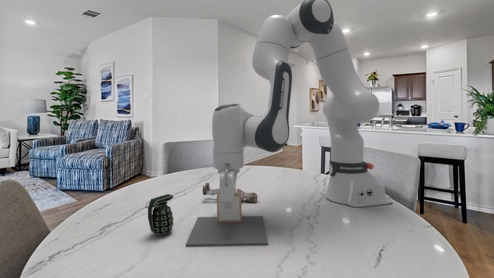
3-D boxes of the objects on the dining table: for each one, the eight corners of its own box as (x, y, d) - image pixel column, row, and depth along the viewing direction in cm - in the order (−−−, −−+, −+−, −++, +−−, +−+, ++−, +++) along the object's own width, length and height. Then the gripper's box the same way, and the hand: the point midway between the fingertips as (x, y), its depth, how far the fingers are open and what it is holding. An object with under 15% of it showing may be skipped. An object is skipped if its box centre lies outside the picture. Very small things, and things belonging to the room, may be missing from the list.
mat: (262, 217, 77) (262, 215, 77) (267, 245, 61) (267, 242, 61) (197, 218, 77) (197, 217, 77) (185, 246, 61) (185, 244, 61)
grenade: (166, 226, 72) (165, 192, 71) (178, 232, 69) (177, 196, 68) (145, 235, 67) (143, 199, 66) (157, 241, 64) (154, 203, 63)
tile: (241, 218, 75) (241, 192, 75) (241, 222, 73) (241, 195, 72) (218, 218, 75) (217, 193, 74) (217, 222, 73) (216, 195, 72)
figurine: (206, 181, 96) (258, 187, 93) (205, 195, 96) (257, 202, 94) (202, 185, 90) (257, 193, 87) (201, 201, 90) (255, 208, 88)
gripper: (238, 168, 62) (239, 222, 63) (240, 154, 82) (240, 195, 84) (213, 169, 62) (214, 222, 63) (220, 155, 82) (221, 196, 84)
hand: (229, 207), depth 74 cm, fingers open, 8 cm apart
